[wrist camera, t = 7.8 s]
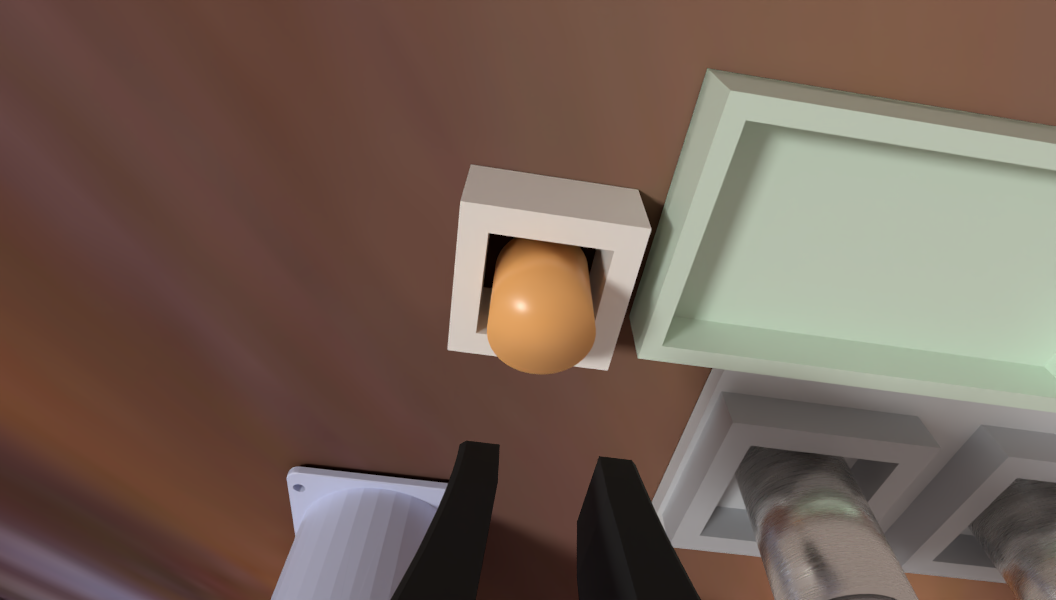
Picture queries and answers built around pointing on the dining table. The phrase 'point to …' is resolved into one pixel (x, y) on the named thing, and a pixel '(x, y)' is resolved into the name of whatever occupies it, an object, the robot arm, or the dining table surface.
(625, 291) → the button housing
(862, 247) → the tray
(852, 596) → the cylinder
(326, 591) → the robot arm
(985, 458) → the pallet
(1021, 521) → the cylinder
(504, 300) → the button cap
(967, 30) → the dining table surface
